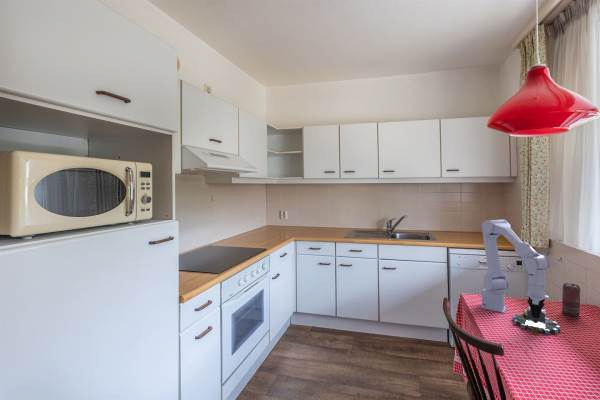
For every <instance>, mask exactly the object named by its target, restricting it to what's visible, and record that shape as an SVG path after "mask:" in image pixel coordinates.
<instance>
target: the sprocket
mask: <svg viewBox="0 0 600 400" xmlns="http://www.w3.org/2000/svg"><path fill="white" fill-rule="evenodd" d="M512 321H513V324H514V325H515V326H520V328H521V329H523V330H528V331H531V327H535V328H538V331H537V333H542V334H544V335H550V334H555V335H556V334H559V332H561V326H560V325H559V324H558V322H557V321H556V320H555V321H554V320H550V318H548V317H546V316H545V323H543V322H539V321H534V320H530V319H527V309H522V314H519V313H515V315H512Z"/></svg>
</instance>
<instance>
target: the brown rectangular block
mask: <svg viewBox="0 0 600 400" xmlns="http://www.w3.org/2000/svg"><path fill="white" fill-rule="evenodd" d="M537 331H538V328H535V327H531V330H530V334H531V335H534V336H538V332H537Z"/></svg>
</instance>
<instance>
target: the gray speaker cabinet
mask: <svg viewBox="0 0 600 400" xmlns="http://www.w3.org/2000/svg"><path fill="white" fill-rule="evenodd" d="M526 310H527V319H530V320H534V321H539V322H543V323H545V317H546V313H547V312H546V309H543V308H542V309H541V312H540V317H539V318H534V317H532V313H531V308H530V306H527V307H526Z"/></svg>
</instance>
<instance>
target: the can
mask: <svg viewBox="0 0 600 400" xmlns="http://www.w3.org/2000/svg"><path fill="white" fill-rule="evenodd" d="M561 298H562V300H561V301H562V302H561V304H562V305H561V306H562V307H561V312H562V314H563V315H565V316H568V317H574V318H577V317H579V316H580V310H581V287H580V285H579V284H575V283H570V282H567V283H563V284H562V296H561Z"/></svg>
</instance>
